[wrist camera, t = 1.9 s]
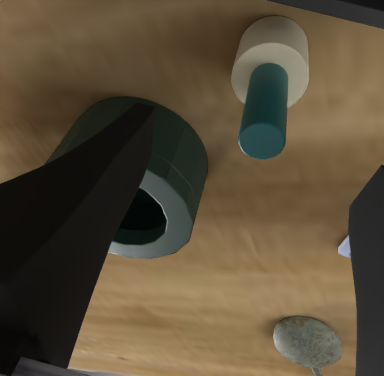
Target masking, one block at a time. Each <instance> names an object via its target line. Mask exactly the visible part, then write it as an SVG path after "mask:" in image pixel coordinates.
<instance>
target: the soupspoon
mask: <svg viewBox="0 0 384 376" xmlns="http://www.w3.org/2000/svg"><path fill="white" fill-rule="evenodd" d="M273 339H274V343H275V346H276V348H277V349H278V351H279V352H280V353H281V354H282V355H283V356H284V357H285V358H286V359H288V360H289V361H291V362H293V363H295V364H298V365H301V366H304V367H310V368H311V369H312V371H313V374H314V376H323V375H322V372H321V368H320V367H325V366H329V365H331V364H334V363H336V362H337V361H339V360H340V358H341V357H342V353H343V349H342V345H341V342H340V339H339V336H338V335H337V334H336V333H335V332H334V331H333V330H332V329H330V328H329V326H327V325H325V324H324V323H322V322H320V321H317V320H314V319H311V318H308V317H305V316H294V317H292V318H291V317H289V318H286V319H284V320H281V321H280V322H279V323H278V324H277V325H276V326H275V329H274V334H273Z"/></svg>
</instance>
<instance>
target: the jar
mask: <svg viewBox="0 0 384 376" xmlns="http://www.w3.org/2000/svg"><path fill="white" fill-rule="evenodd" d="M137 102H138V103H142V104H146V105H150V106H154V107H156V113H155V124H154V134H153V145H152V155H151V158H150V161H149V164H148V167H147V169H146V172H145V175H144V178H143V180H142V182H141V184H140V186H139V188H138V190H137V192H136V194H135V196H134V198H133V200H132V202H131V204H130V206H129V208H128V210H127V212H126V214H125V216H124V218H123V220H122V222H121V224H120V226H119V228H118V230H117V232H116V234H115V236H114V238H113V241H112V243H111V245H110V248H109V250H108V252H110V253H114V254H117V255H121V256H125V257H129V258H147V259H153V258H158V257H162V256H166V255H170V254H173V253H176V252H177V251H178V250H179V249H181V248H182V247H183V246H184V245H186V244H187V243H188V242H189V240H190V237H191V233H192V229H193V225H194V222H195V218H196V214H197V210H198V206H199V203H200V199H201V195H202V191H203V187H204V183H205V180H206V176H207V172H208V159H207V154H206V151H205V148H204V145H203V143H202V141H201V140H200V138H199V136H198V135H197V134H196V132H195V131H194V130H193V129H192V127H191V126H190V125H189V124H188V123H187V122H185V121H184V120H183V119H182V118H181V117H179V116H178V115H177V114H175V113H174V112H172V111H171V110H169V109H167V108H165V107H163V106H161V105H159V104H156V103H154V102H151V101H147V100H144V99H139V98H131V97H116V98H110V99H106V100H103V101H100V102H98V103H96V104H94V105H92V106H91V107H90V108H88V109H87V110H86V111H85V112H84V113H83V115H81V116H80V117H79V118H78V119H77V121H76V122H75V123H74V125H73V126H72V127H71V129H70V130H69V132H68V133H67V134H66V136H65V137H64V138H63V140H62V141H61V142H60V144H59V145H58V147H57V148H56V149H55V151H54V152H53V153H52V155H51V156H50V157H49V159H48V160H47V162H46V163H45V164H47V163H49V162H51V161H53V160H55V159H56V158H58V157H60V156H62V155H63V154H65V153H67V152H69V151H70V150H72V149H73V148H75V147H77V146H78V145H80V144H81V143H83V142H84V141H86V140H87V139H89V138H90V137H92V136H93V135H95V134H96V133H97V132H99V131H100V130H102V129H103V128H104V127H106V126H107V125H109V124H110V123H111V122H112V121H114V120H115V119H116V118H118V117H119V116H120V115H121V114H123V113H124V112H125V111H126V110H128V109H129V108H130V107H131V106H133V105H134V104H136V103H137ZM45 164H44V165H45Z"/></svg>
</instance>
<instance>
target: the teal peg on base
mask: <svg viewBox="0 0 384 376" xmlns="http://www.w3.org/2000/svg"><path fill="white" fill-rule="evenodd" d="M308 81H309V61H308V41H307V37H306V35H305V33H304V31H303V29H302V28H301V27H300V26H299V25H298V24H297V23H296V22H294V21H293V20H291V19H289V18H286V17H282V16H269V17H264V18H262V19H259V20H257V21H256V22H254V23H253V24H252V25H250V26H249V27H248V28H247V30H246V31H245V32H244V34H243V36H242V38H241V40H240V43H239V47H238V51H237V54H236V58H235V62H234V65H233V69H232V74H231V83H232V87H233V90H234V92H235V94H236V96H237V97H238V99H239V100H240V101H241V102H242V103H243V104H245V105H244V111H243V116H242V121H241V126H240V131H239V136H238V143H239V146H240V148H241V150H242V151H243V152H244V153H245V154H246V155H248V156H250V157H252V158H255V159H269V158H273V157H275V156H277V155H278V154H279V153H280V152H281V151H282V150H283V148H284V146H285V143H286V123H287V108H288V107H290V106H291V105H293V104H294V103H295V102H297V101H298V100H299V99H300V98H301V96H302V95H303V94H304V92H305V90H306V88H307V85H308Z"/></svg>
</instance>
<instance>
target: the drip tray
mask: <svg viewBox="0 0 384 376" xmlns="http://www.w3.org/2000/svg"><path fill="white" fill-rule="evenodd" d="M268 1H272V2H276V3H281V4H285V5H289V6H293V7H297V8H301V9H305V10H309V11H313V12H317V13H321V14H325V15H329V16H333V17H337V18H341V19H345V20H350V21H354V22H358V23H362V24H366V25H370V26H374V27H378V28H382V29H384V0H268Z"/></svg>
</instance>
